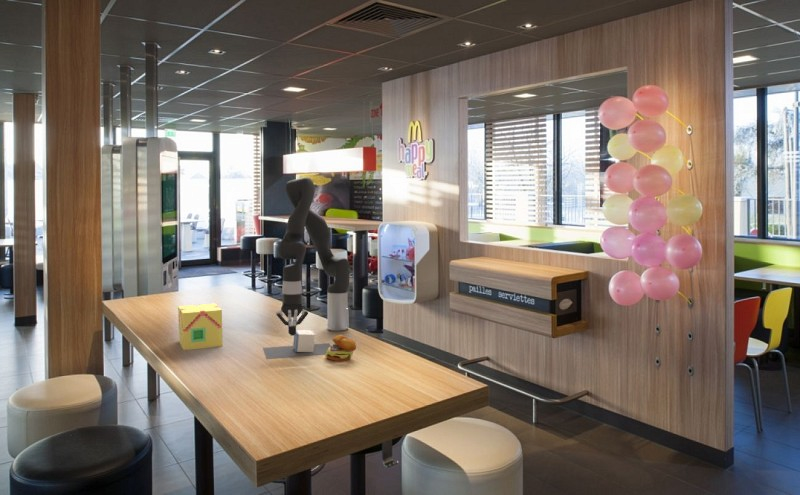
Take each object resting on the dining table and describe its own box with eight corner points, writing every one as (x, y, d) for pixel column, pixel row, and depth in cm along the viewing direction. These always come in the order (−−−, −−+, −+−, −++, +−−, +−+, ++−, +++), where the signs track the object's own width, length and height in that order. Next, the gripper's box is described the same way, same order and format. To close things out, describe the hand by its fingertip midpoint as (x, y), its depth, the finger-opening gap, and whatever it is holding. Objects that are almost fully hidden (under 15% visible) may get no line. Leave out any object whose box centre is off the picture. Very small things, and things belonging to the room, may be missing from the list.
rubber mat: (328, 343, 243) (328, 343, 243) (336, 354, 228) (336, 353, 228) (262, 348, 235) (262, 347, 235) (266, 359, 220) (266, 359, 220)
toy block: (183, 350, 232) (182, 313, 230) (179, 341, 245) (178, 306, 243) (222, 345, 239) (221, 309, 237) (215, 337, 252) (215, 303, 250)
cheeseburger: (325, 354, 227) (331, 330, 227) (351, 360, 228) (357, 336, 228) (323, 361, 217) (330, 336, 217) (351, 368, 218) (358, 342, 218)
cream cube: (293, 347, 234) (310, 347, 236) (295, 351, 228) (313, 352, 230) (294, 330, 234) (311, 330, 236) (297, 334, 227) (314, 334, 229)
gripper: (307, 289, 234) (307, 331, 236) (274, 290, 230) (274, 333, 232) (310, 292, 227) (310, 336, 229) (276, 294, 223) (276, 338, 225)
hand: (292, 335), depth 230 cm, fingers closed
